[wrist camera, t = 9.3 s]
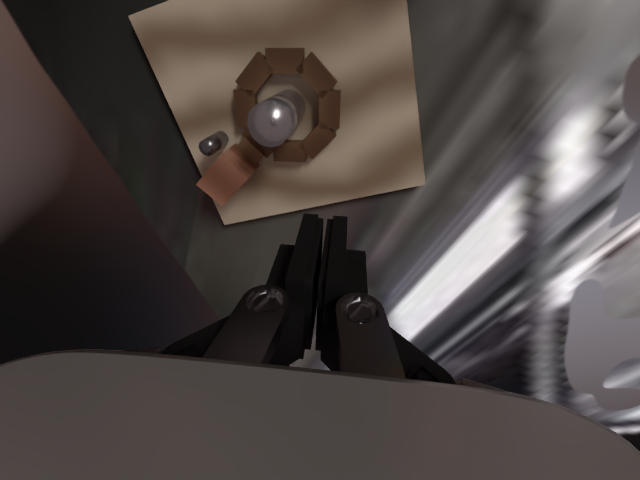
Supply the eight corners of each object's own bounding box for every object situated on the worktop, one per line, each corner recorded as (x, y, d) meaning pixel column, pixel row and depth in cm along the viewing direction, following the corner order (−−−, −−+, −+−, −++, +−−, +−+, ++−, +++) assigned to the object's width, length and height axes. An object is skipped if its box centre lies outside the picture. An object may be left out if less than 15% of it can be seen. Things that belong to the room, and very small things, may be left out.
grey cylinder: (203, 113, 29) (158, 131, 23) (300, 85, 27) (282, 96, 21) (218, 147, 31) (179, 174, 24) (310, 122, 29) (296, 144, 22)
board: (136, 17, 27) (128, 15, 26) (395, -82, 22) (397, -88, 21) (227, 220, 37) (224, 225, 36) (423, 180, 32) (425, 184, 31)
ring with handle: (284, 19, 25) (273, 14, 21) (361, 109, 28) (362, 117, 24) (187, 147, 31) (166, 159, 28) (258, 210, 34) (247, 228, 30)
